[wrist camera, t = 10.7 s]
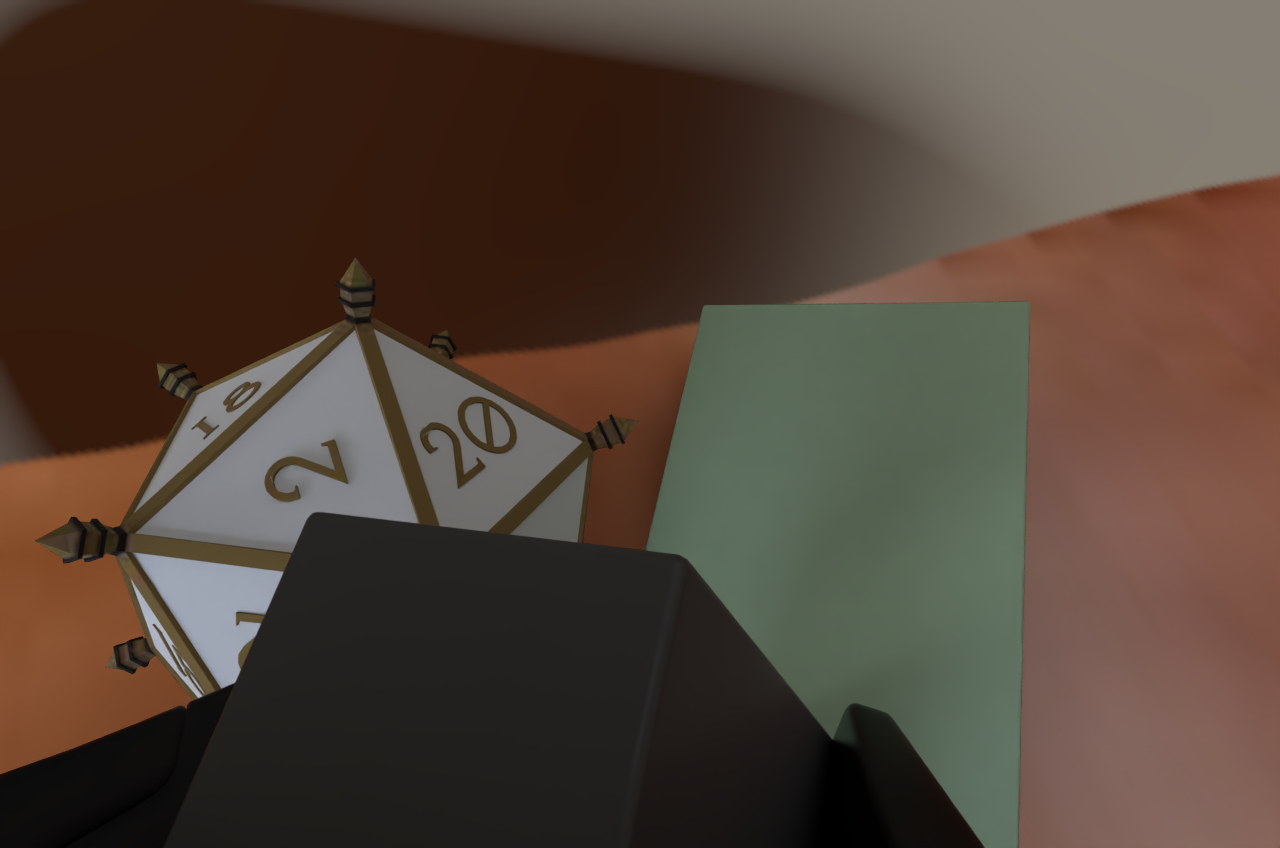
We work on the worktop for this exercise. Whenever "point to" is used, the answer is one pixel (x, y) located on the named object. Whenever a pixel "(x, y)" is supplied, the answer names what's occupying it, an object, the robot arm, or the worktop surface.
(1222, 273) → the worktop surface
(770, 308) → the two-tone post fixture
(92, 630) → the worktop surface
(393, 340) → the game die
